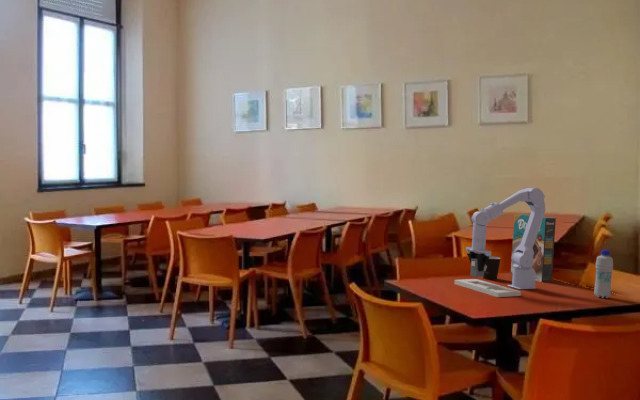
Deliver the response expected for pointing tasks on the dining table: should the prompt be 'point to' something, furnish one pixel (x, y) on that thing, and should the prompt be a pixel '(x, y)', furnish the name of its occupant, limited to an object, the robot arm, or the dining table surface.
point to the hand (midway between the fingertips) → (477, 270)
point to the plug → (475, 268)
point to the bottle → (603, 274)
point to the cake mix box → (537, 245)
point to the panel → (488, 288)
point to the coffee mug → (491, 268)
